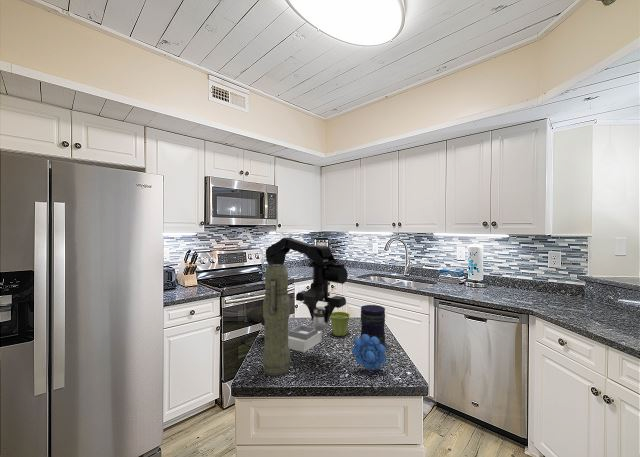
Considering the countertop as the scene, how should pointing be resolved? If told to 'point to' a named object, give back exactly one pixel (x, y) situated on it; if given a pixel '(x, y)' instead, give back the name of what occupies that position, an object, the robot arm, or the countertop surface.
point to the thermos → (276, 321)
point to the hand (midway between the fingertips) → (319, 321)
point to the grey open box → (303, 338)
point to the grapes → (369, 352)
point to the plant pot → (339, 323)
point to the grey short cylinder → (319, 318)
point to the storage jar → (373, 322)
